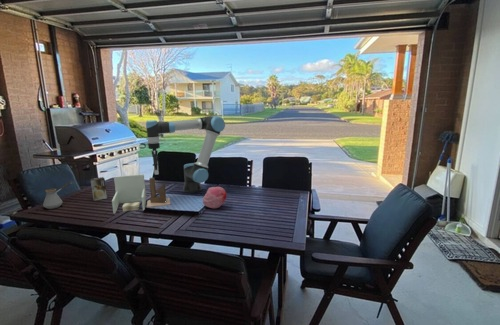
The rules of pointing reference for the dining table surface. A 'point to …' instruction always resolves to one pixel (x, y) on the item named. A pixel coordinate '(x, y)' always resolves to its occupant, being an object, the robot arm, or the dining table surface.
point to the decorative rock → (214, 197)
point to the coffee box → (98, 188)
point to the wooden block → (153, 192)
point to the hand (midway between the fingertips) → (156, 172)
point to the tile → (158, 203)
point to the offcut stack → (131, 206)
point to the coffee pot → (53, 198)
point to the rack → (129, 190)
